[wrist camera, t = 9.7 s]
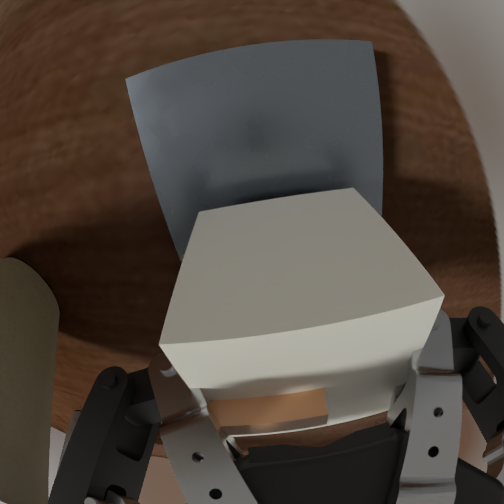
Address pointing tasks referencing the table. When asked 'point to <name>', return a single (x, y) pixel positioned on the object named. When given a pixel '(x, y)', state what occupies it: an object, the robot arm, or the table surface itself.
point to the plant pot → (25, 381)
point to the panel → (260, 126)
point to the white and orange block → (297, 312)
